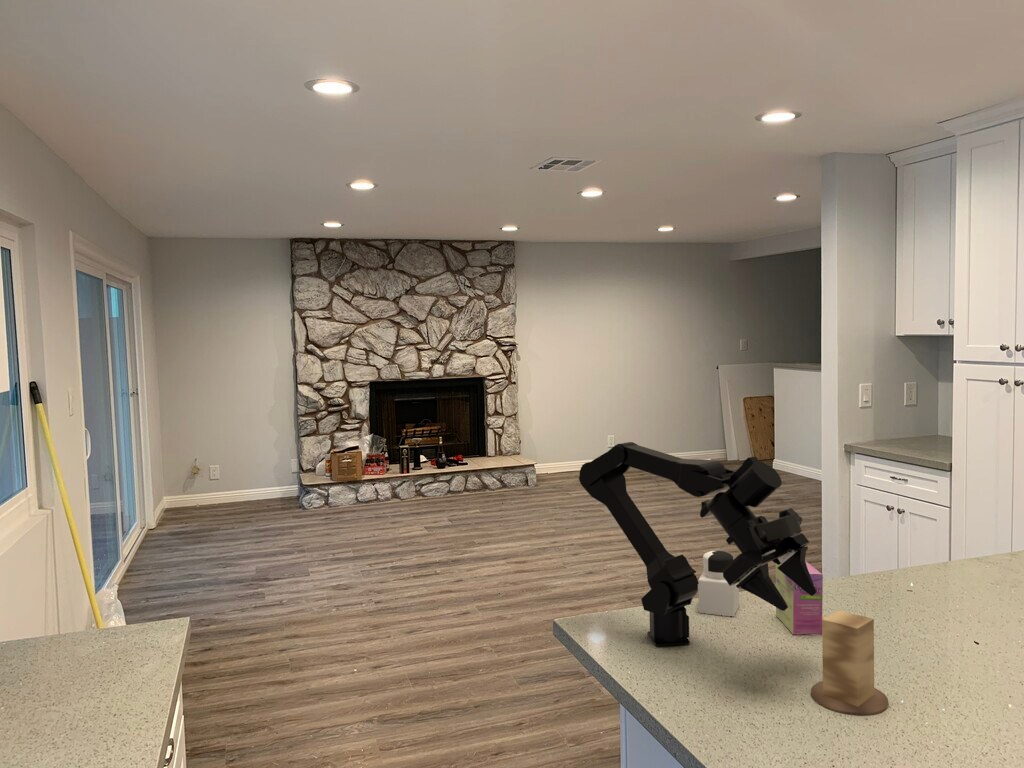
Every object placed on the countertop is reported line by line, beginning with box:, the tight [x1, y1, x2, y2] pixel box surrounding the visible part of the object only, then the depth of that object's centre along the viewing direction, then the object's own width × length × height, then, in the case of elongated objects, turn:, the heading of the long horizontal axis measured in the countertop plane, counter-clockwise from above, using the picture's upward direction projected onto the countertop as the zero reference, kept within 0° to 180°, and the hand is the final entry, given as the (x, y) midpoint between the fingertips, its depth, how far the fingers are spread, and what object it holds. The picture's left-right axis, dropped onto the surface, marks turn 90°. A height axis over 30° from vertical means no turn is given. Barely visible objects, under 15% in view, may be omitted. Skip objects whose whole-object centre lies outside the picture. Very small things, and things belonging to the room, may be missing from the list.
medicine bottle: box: [697, 550, 740, 618], centre depth 160 cm, size 7×7×12 cm
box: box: [775, 560, 824, 636], centre depth 150 cm, size 10×6×12 cm, turn 179°
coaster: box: [810, 680, 889, 716], centre depth 119 cm, size 11×11×1 cm
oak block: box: [821, 610, 875, 707], centre depth 119 cm, size 6×6×12 cm
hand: (800, 601), depth 125 cm, fingers open, 9 cm apart
